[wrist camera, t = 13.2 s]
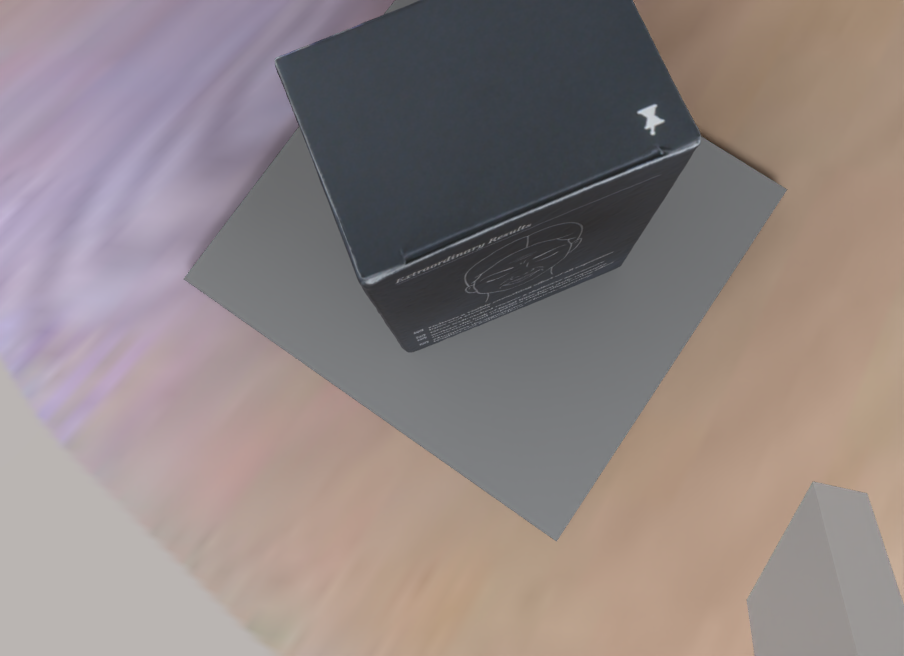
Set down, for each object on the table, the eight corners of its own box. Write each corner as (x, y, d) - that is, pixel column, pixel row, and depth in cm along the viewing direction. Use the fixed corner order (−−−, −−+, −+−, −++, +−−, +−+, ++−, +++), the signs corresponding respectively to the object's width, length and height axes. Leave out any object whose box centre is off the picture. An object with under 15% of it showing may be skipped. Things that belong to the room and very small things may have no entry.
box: (554, 121, 28) (601, -82, 18) (623, 269, 27) (714, 146, 17) (342, 206, 28) (264, 51, 18) (404, 359, 27) (359, 289, 17)
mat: (778, 197, 28) (787, 189, 28) (553, 539, 27) (556, 541, 26) (423, -24, 30) (422, -37, 29) (191, 284, 28) (183, 278, 28)
